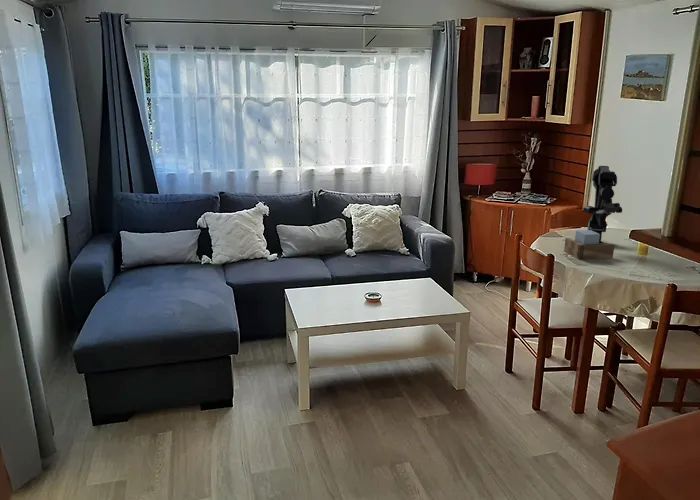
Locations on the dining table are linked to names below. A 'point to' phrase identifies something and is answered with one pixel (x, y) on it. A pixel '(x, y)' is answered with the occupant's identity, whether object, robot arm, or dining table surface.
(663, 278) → the dining table surface
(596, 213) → the robot arm
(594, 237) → the slate block
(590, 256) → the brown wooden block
